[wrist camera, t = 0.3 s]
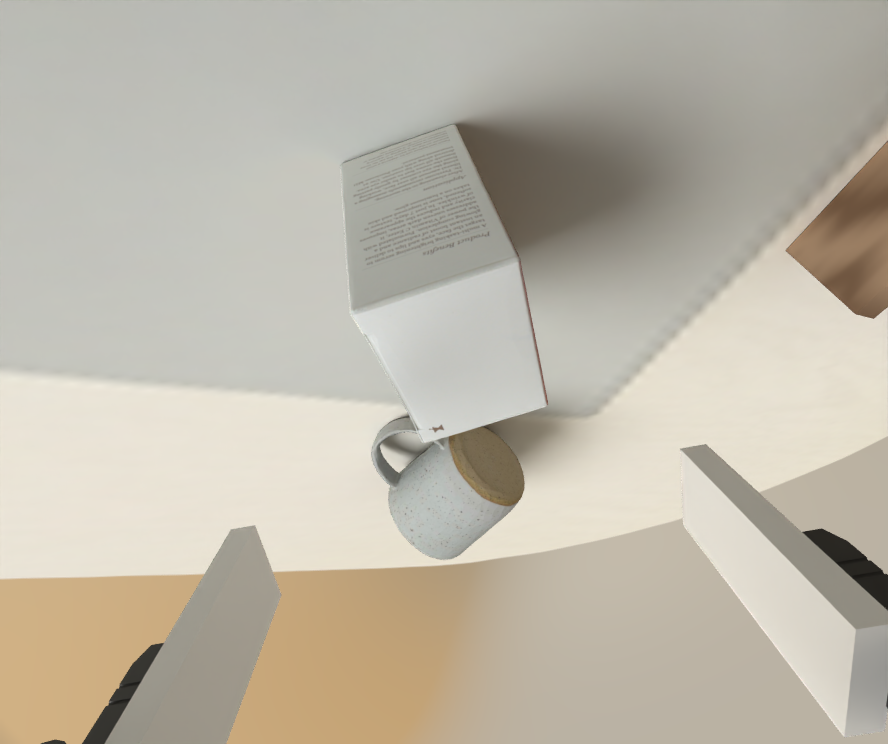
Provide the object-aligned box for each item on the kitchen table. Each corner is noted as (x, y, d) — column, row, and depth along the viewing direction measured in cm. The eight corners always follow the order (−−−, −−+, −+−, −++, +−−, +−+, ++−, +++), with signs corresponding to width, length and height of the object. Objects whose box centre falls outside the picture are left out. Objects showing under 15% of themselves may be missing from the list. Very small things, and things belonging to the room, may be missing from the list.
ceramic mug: (517, 430, 41) (546, 518, 35) (455, 482, 45) (472, 567, 40) (408, 391, 35) (423, 488, 30) (348, 454, 39) (352, 549, 34)
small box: (491, 261, 28) (552, 410, 21) (395, 293, 28) (423, 449, 21) (456, 116, 22) (525, 257, 15) (335, 160, 22) (347, 316, 15)
